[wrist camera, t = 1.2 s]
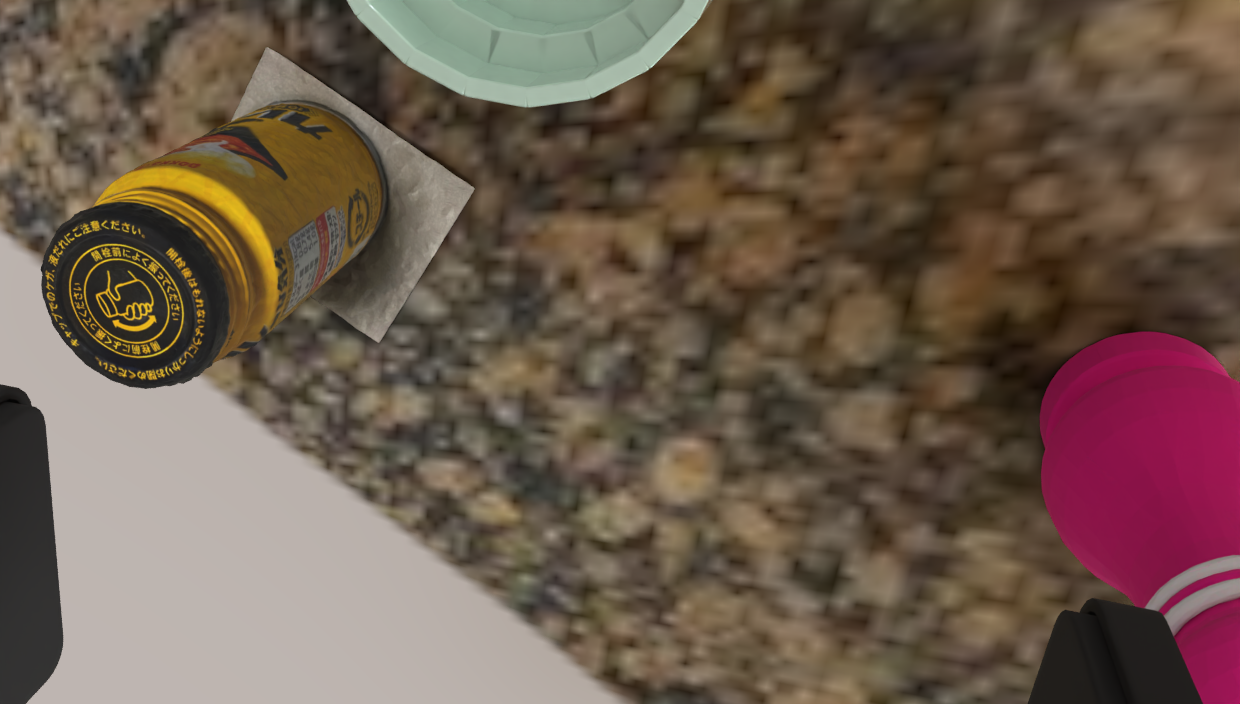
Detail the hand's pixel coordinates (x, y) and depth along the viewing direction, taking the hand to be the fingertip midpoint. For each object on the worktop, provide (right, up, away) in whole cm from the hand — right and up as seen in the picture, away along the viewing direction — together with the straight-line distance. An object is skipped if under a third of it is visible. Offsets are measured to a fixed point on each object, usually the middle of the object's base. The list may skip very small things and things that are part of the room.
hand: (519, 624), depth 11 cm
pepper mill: (+19, 0, +30) cm, 35 cm away
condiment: (-9, +8, +32) cm, 34 cm away
